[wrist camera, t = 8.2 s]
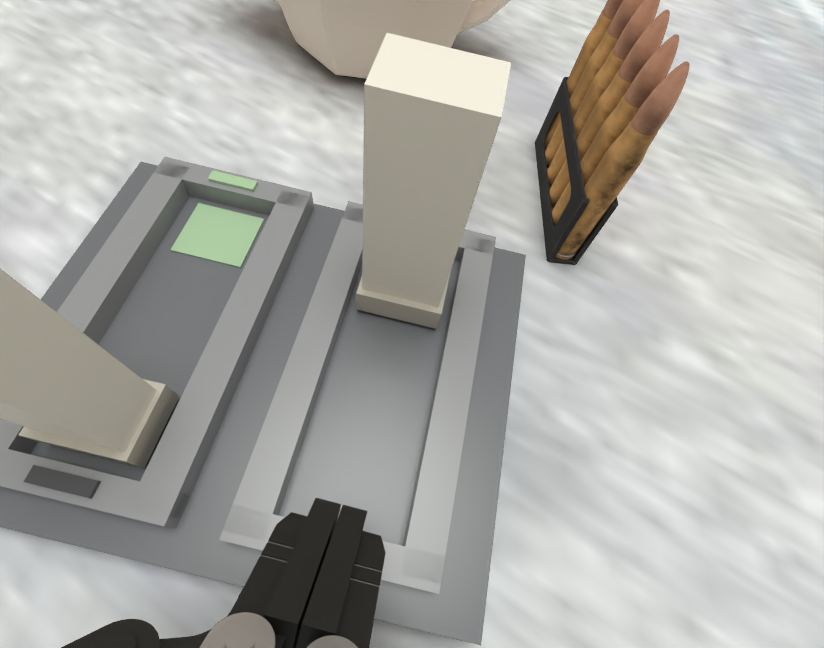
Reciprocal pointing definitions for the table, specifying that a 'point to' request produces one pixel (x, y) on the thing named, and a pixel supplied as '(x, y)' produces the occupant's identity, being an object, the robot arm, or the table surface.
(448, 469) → the switch board
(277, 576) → the robot arm
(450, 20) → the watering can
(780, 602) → the table surface
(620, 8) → the ammunition clip
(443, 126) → the tab
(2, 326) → the tab
